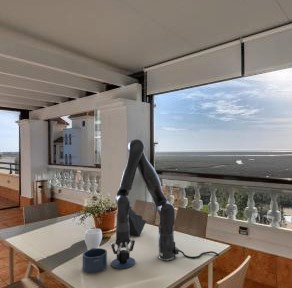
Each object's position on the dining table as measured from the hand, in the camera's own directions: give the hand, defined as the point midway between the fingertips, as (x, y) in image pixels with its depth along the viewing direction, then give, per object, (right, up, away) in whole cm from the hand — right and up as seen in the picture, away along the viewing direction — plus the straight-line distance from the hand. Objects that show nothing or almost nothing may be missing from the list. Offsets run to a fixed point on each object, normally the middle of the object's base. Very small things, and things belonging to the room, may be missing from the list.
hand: (123, 259), depth 139 cm
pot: (-15, -3, -4) cm, 15 cm away
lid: (0, -2, 0) cm, 2 cm away
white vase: (-21, -4, +13) cm, 25 cm away
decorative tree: (-3, -4, +47) cm, 47 cm away
